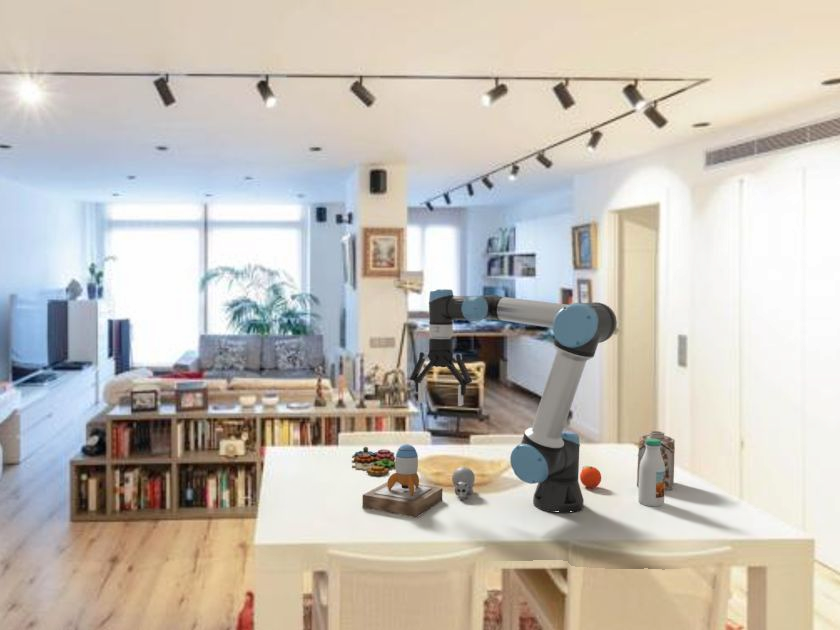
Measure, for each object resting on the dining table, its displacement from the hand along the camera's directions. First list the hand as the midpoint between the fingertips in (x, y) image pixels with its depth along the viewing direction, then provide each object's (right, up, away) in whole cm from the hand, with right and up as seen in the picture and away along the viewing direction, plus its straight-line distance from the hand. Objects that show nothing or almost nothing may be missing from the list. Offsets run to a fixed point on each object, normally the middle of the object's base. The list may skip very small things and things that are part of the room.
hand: (440, 404), depth 238 cm
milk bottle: (+65, -30, -7) cm, 72 cm away
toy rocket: (-12, -25, -12) cm, 30 cm away
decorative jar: (+73, -29, +14) cm, 80 cm away
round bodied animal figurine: (+7, -29, -2) cm, 30 cm away
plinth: (-12, -29, -11) cm, 33 cm away
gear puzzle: (-23, -27, +34) cm, 49 cm away
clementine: (+50, -29, +10) cm, 58 cm away
